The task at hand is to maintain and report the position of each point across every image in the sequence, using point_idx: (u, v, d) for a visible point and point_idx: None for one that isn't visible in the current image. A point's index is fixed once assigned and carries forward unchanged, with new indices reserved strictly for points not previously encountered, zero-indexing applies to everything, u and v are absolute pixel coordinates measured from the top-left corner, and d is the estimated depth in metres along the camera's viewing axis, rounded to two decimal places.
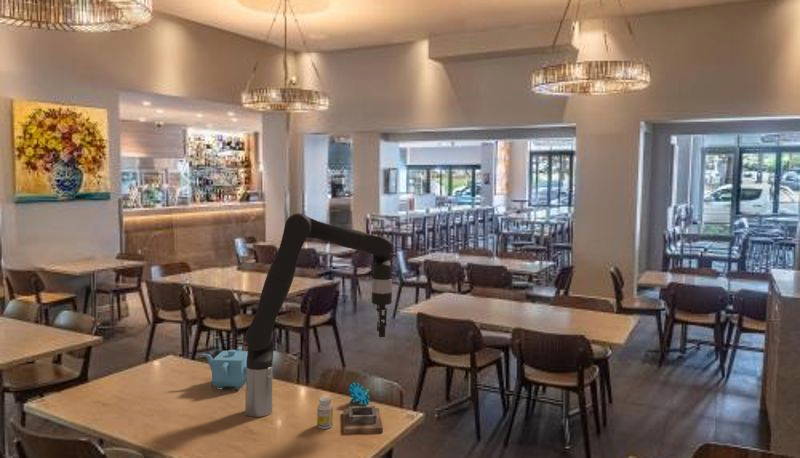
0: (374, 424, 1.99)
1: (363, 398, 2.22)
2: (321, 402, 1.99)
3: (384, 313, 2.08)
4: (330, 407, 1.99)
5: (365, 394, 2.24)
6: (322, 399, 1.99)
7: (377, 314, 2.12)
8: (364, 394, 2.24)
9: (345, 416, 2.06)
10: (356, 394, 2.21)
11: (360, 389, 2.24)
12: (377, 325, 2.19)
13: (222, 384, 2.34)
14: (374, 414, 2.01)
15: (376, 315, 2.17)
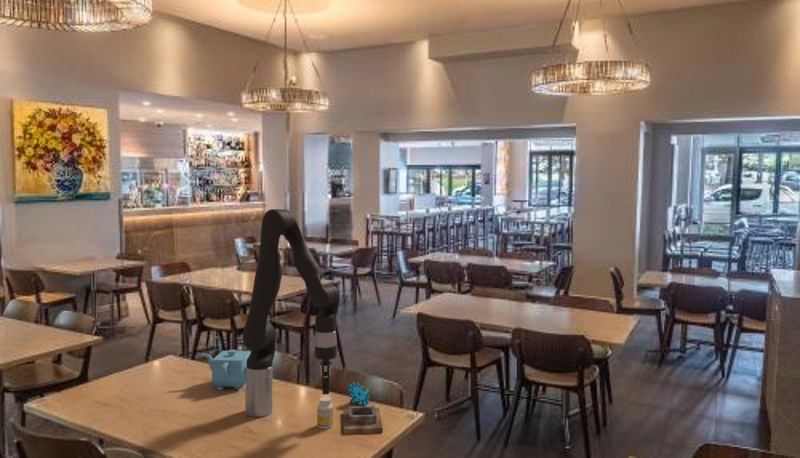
0: (374, 424, 1.99)
1: (363, 398, 2.22)
2: (321, 402, 1.99)
3: (327, 369, 1.93)
4: (330, 407, 1.99)
5: (365, 394, 2.24)
6: (322, 399, 1.99)
7: None
8: (364, 394, 2.24)
9: (345, 416, 2.06)
10: (355, 394, 2.21)
11: (360, 389, 2.25)
12: (323, 379, 2.04)
13: (222, 384, 2.34)
14: (374, 414, 2.01)
15: None
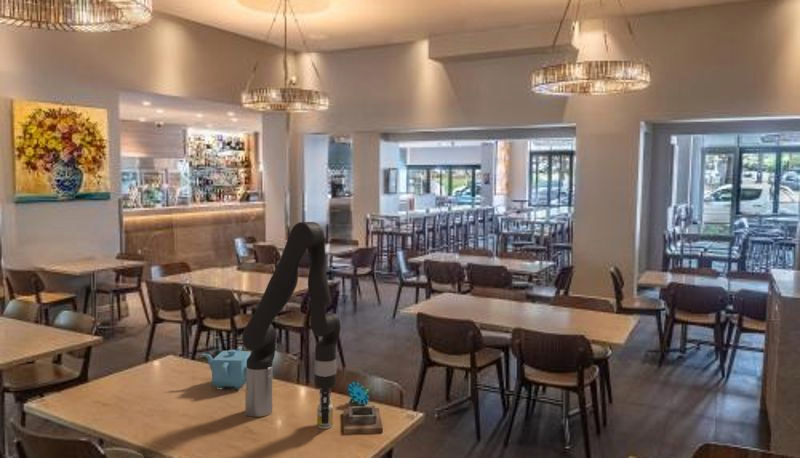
0: (374, 424, 1.99)
1: (362, 398, 2.22)
2: None
3: (326, 401, 1.94)
4: (330, 407, 1.99)
5: (364, 394, 2.25)
6: None
7: (320, 398, 1.98)
8: (363, 394, 2.24)
9: (345, 416, 2.06)
10: (355, 394, 2.21)
11: (359, 389, 2.25)
12: None
13: (222, 384, 2.34)
14: (374, 414, 2.01)
15: None
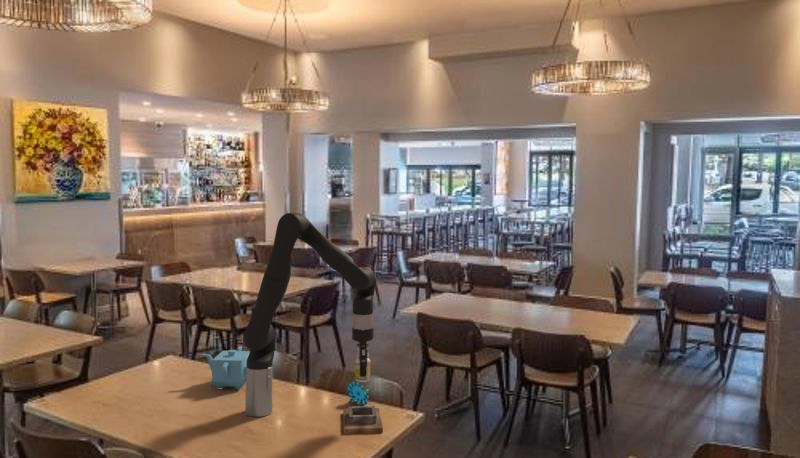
0: (374, 424, 1.99)
1: (361, 398, 2.22)
2: None
3: (365, 353, 1.96)
4: (368, 361, 2.01)
5: (364, 394, 2.25)
6: None
7: (358, 352, 2.00)
8: (363, 394, 2.24)
9: (345, 416, 2.06)
10: (354, 393, 2.21)
11: (359, 389, 2.25)
12: None
13: (222, 384, 2.34)
14: (374, 414, 2.01)
15: None
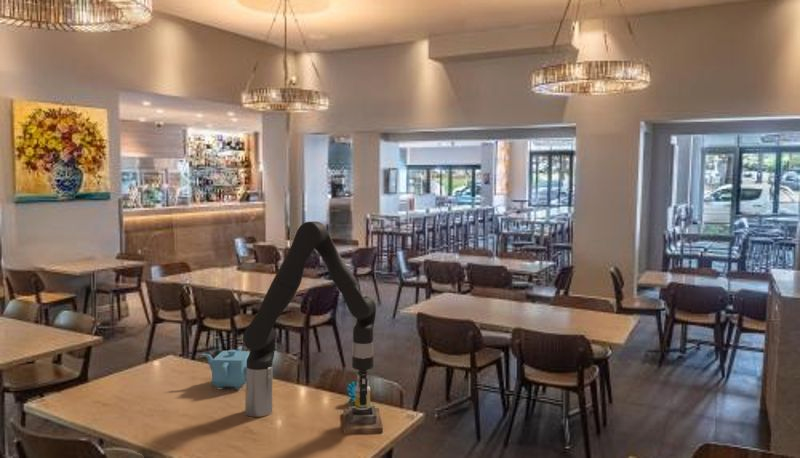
0: (374, 424, 1.99)
1: None
2: None
3: (365, 382, 1.97)
4: (368, 389, 2.02)
5: None
6: None
7: (358, 380, 2.01)
8: None
9: (345, 416, 2.06)
10: (354, 393, 2.21)
11: None
12: None
13: (222, 384, 2.34)
14: (374, 414, 2.01)
15: (357, 380, 2.05)
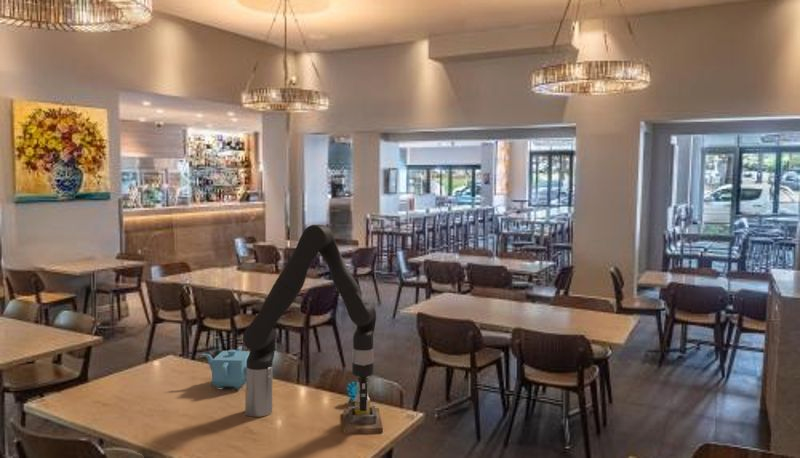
0: (374, 424, 1.99)
1: None
2: None
3: (365, 387, 1.97)
4: (367, 399, 2.03)
5: None
6: None
7: (358, 386, 2.01)
8: None
9: (345, 416, 2.06)
10: (354, 393, 2.21)
11: None
12: None
13: (222, 384, 2.34)
14: (374, 414, 2.01)
15: (357, 386, 2.06)
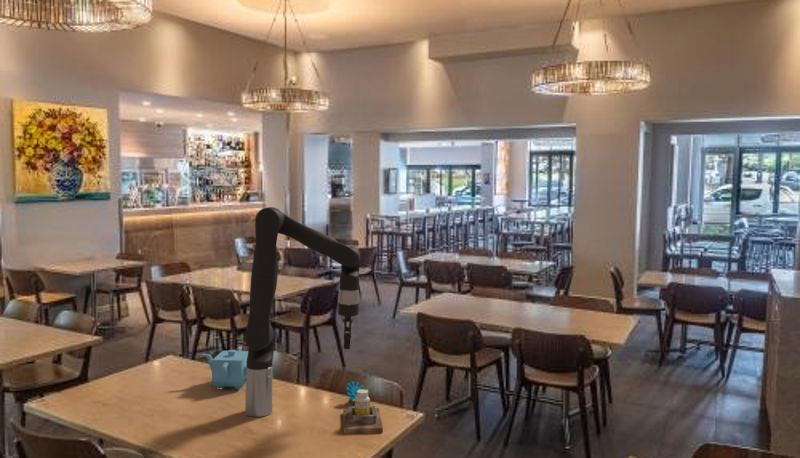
0: (374, 424, 1.99)
1: None
2: (359, 394, 2.02)
3: (349, 325, 2.04)
4: (367, 399, 2.03)
5: None
6: (360, 392, 2.03)
7: (343, 325, 2.08)
8: None
9: (345, 416, 2.06)
10: (353, 393, 2.22)
11: (359, 388, 2.25)
12: None
13: (222, 384, 2.34)
14: (374, 414, 2.01)
15: None
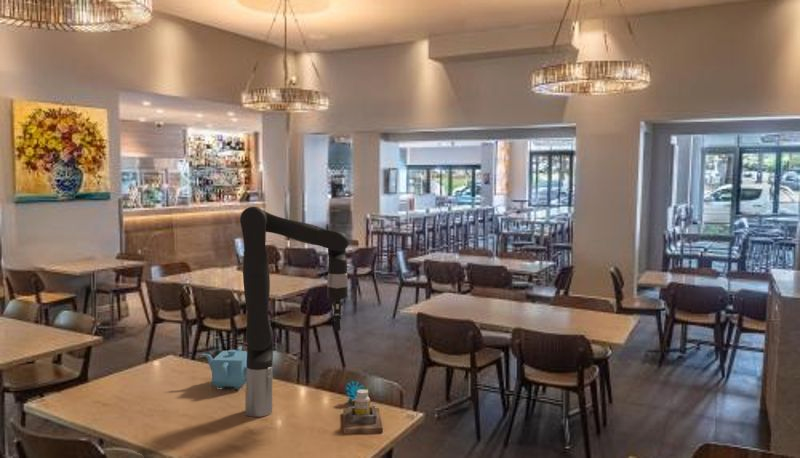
0: (374, 424, 1.99)
1: None
2: (359, 394, 2.02)
3: (338, 307, 2.10)
4: (367, 399, 2.03)
5: None
6: (360, 392, 2.03)
7: None
8: None
9: (345, 416, 2.06)
10: (353, 393, 2.22)
11: (358, 388, 2.25)
12: None
13: (222, 384, 2.34)
14: (374, 414, 2.01)
15: None
